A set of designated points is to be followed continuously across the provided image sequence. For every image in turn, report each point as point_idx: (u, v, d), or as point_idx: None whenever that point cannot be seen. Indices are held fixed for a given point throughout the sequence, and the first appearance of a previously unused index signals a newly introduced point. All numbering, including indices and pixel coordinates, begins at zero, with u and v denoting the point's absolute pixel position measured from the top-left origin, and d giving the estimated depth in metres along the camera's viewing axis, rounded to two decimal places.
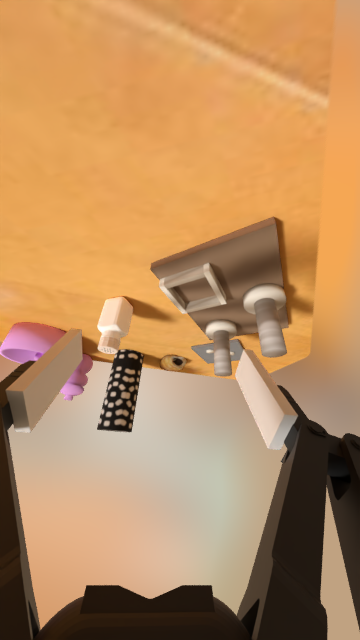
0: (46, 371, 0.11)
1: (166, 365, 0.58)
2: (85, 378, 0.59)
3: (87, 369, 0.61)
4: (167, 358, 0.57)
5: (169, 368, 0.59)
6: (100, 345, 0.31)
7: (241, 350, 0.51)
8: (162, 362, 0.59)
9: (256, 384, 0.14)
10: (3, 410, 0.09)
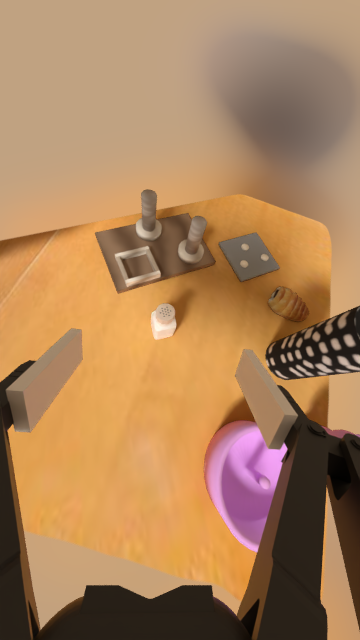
0: (46, 371, 0.11)
1: (284, 306, 0.45)
2: (335, 430, 0.33)
3: None
4: (271, 306, 0.46)
5: (288, 301, 0.45)
6: (156, 315, 0.32)
7: (237, 239, 0.53)
8: (284, 313, 0.45)
9: (256, 384, 0.14)
10: (3, 410, 0.09)
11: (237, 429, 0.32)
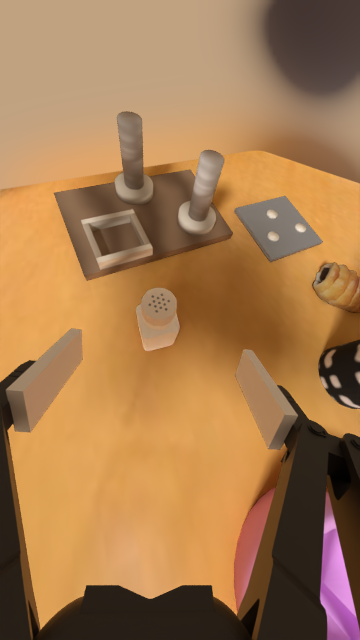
0: (46, 371, 0.11)
1: (341, 290, 0.30)
2: None
3: None
4: (320, 292, 0.31)
5: (347, 283, 0.30)
6: (143, 310, 0.17)
7: (260, 204, 0.38)
8: (340, 300, 0.30)
9: (256, 384, 0.14)
10: (3, 410, 0.09)
11: None
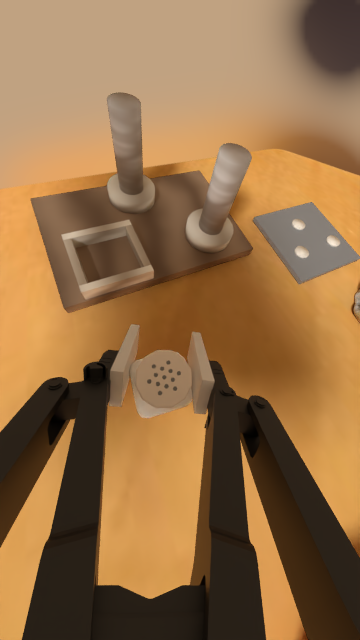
0: (129, 358, 0.13)
1: None
2: None
3: None
4: None
5: None
6: (138, 391, 0.11)
7: (283, 211, 0.31)
8: None
9: (194, 360, 0.15)
10: (108, 390, 0.11)
11: None
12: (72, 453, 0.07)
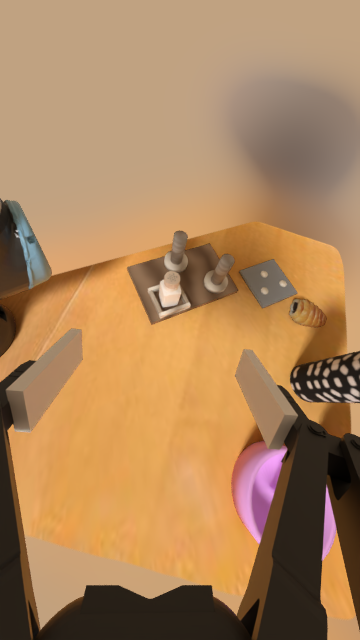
0: (46, 371, 0.11)
1: (306, 317, 0.50)
2: None
3: None
4: (294, 319, 0.51)
5: (308, 312, 0.50)
6: (165, 280, 0.39)
7: (256, 266, 0.56)
8: (306, 323, 0.50)
9: (256, 384, 0.14)
10: (3, 410, 0.09)
11: (259, 455, 0.35)
12: None
